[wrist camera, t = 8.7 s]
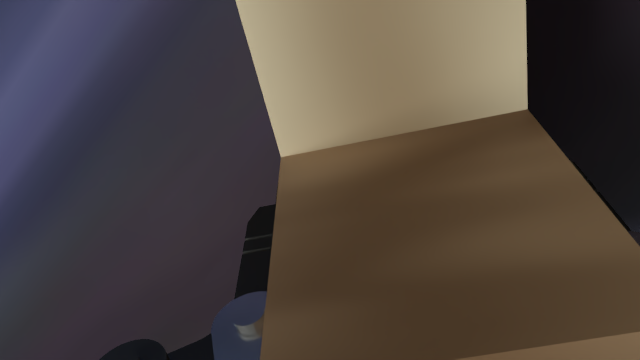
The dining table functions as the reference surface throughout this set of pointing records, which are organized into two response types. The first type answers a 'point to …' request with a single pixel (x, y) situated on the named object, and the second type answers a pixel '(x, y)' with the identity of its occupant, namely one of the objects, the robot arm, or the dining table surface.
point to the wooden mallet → (428, 193)
